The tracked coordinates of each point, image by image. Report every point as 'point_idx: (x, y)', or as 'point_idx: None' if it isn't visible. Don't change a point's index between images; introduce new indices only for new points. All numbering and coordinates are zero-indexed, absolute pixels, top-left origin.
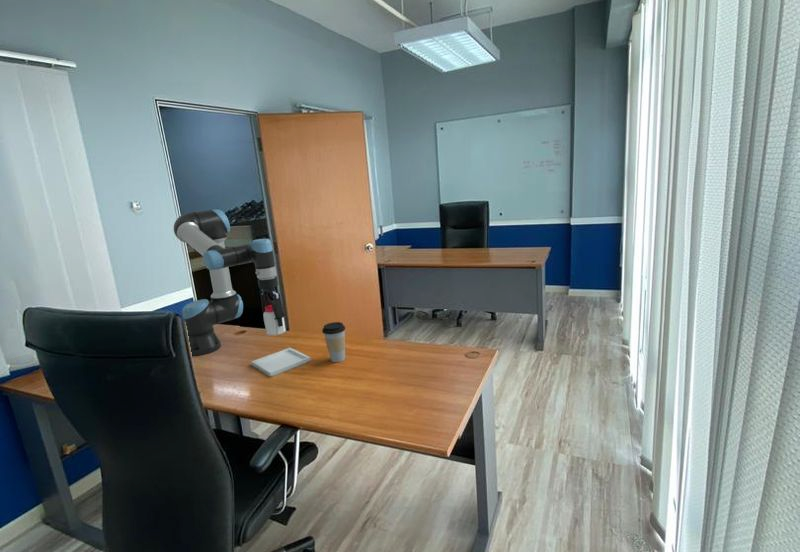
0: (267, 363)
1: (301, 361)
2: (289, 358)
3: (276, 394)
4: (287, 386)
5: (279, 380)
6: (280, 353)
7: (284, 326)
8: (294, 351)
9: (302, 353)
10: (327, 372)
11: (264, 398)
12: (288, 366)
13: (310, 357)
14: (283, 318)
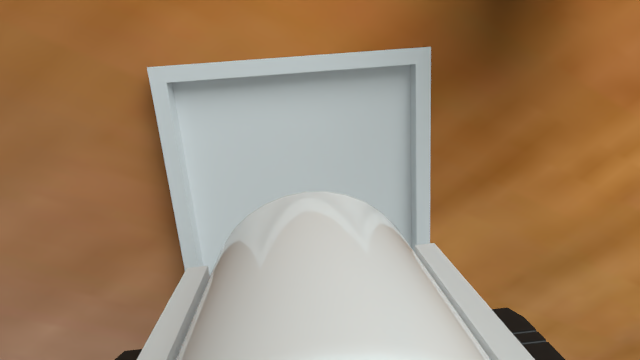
0: None
1: (429, 114)
2: (293, 132)
3: (591, 315)
4: (571, 260)
5: (487, 264)
6: (180, 146)
7: (397, 234)
8: (247, 76)
9: (327, 54)
10: (624, 58)
11: (577, 356)
12: (429, 196)
13: (430, 48)
14: (422, 282)
